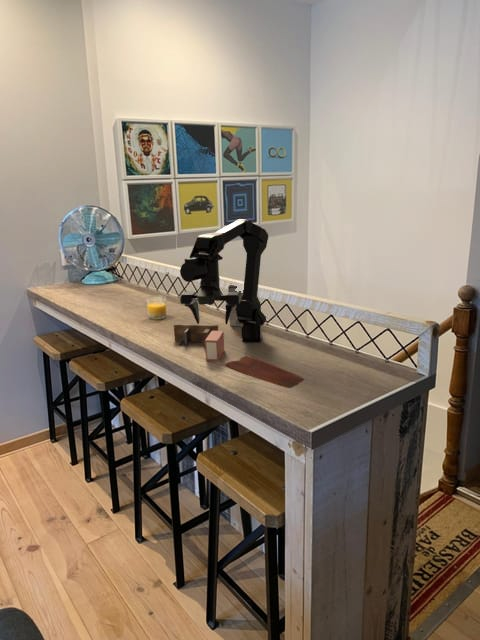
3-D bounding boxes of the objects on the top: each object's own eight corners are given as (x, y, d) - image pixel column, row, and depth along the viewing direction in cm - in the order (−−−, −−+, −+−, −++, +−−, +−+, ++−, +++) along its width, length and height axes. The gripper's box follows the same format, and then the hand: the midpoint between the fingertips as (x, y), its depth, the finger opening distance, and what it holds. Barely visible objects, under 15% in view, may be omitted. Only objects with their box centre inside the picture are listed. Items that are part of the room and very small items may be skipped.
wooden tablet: (222, 367, 154) (222, 362, 153) (245, 358, 160) (245, 354, 160) (286, 391, 135) (286, 386, 135) (309, 380, 142) (309, 375, 141)
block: (224, 350, 167) (223, 330, 165) (218, 361, 157) (217, 340, 155) (212, 350, 168) (211, 330, 166) (206, 360, 158) (205, 340, 156)
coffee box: (234, 319, 202) (232, 281, 198) (249, 320, 201) (248, 281, 196) (229, 326, 193) (227, 286, 189) (245, 326, 192) (244, 286, 188)
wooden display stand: (218, 340, 177) (218, 324, 175) (214, 346, 171) (214, 330, 169) (176, 339, 180) (174, 323, 178) (170, 345, 173) (169, 329, 172)
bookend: (191, 340, 178) (190, 327, 176) (187, 345, 172) (186, 332, 171) (183, 340, 178) (182, 327, 177) (179, 345, 173) (178, 331, 172)
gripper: (173, 281, 146) (176, 331, 151) (234, 281, 143) (236, 332, 148) (183, 273, 157) (186, 320, 161) (241, 274, 154) (242, 321, 158)
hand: (212, 323), depth 157 cm, fingers open, 9 cm apart
